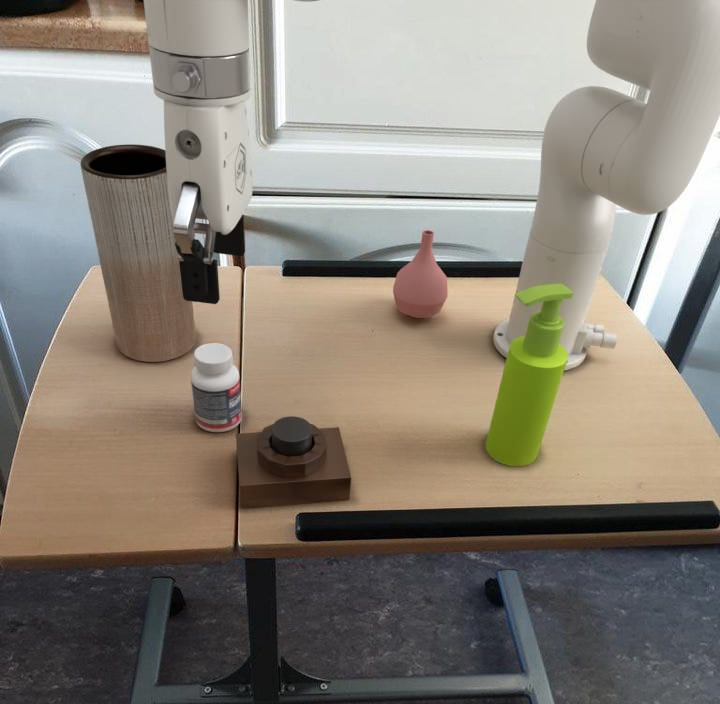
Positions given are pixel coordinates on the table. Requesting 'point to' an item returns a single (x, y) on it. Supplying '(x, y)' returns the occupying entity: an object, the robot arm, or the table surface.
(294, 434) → the dark grey push button
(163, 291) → the planter
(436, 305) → the pink vase
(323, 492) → the brown button base
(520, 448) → the soap dispenser
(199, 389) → the pill bottle
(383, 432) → the table surface
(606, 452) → the table surface
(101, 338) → the table surface
